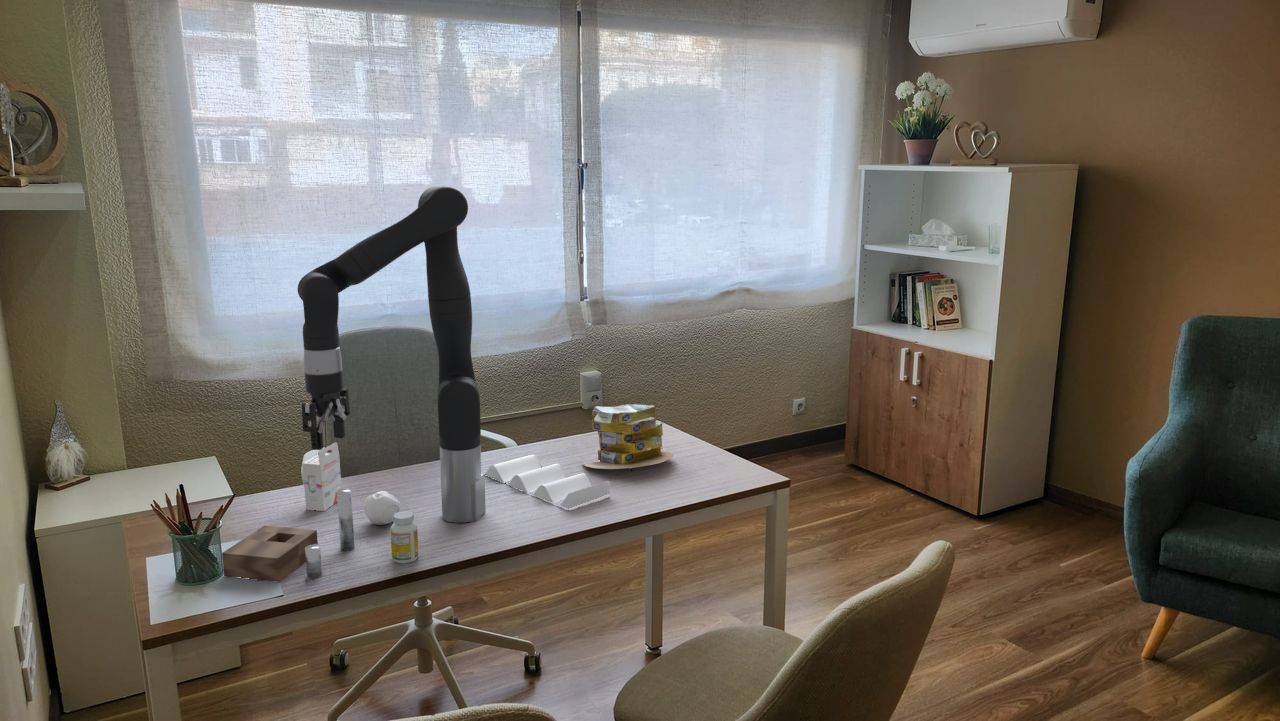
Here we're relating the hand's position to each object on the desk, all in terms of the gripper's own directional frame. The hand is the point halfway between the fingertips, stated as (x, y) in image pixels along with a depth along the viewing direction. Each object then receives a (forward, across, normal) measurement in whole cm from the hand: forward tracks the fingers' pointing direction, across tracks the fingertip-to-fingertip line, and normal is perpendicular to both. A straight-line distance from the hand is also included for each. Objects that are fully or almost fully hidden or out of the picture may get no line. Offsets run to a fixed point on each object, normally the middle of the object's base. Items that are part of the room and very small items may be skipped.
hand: (329, 443), depth 185 cm
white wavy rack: (+23, +42, -34) cm, 58 cm away
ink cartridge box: (+22, +17, +13) cm, 31 cm away
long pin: (+22, -4, -5) cm, 23 cm away
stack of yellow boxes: (+22, +63, -51) cm, 84 cm away
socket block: (+22, -15, +6) cm, 27 cm away
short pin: (+22, -17, -6) cm, 28 cm away
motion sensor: (+22, +10, -6) cm, 25 cm away
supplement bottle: (+22, -6, -19) cm, 30 cm away
